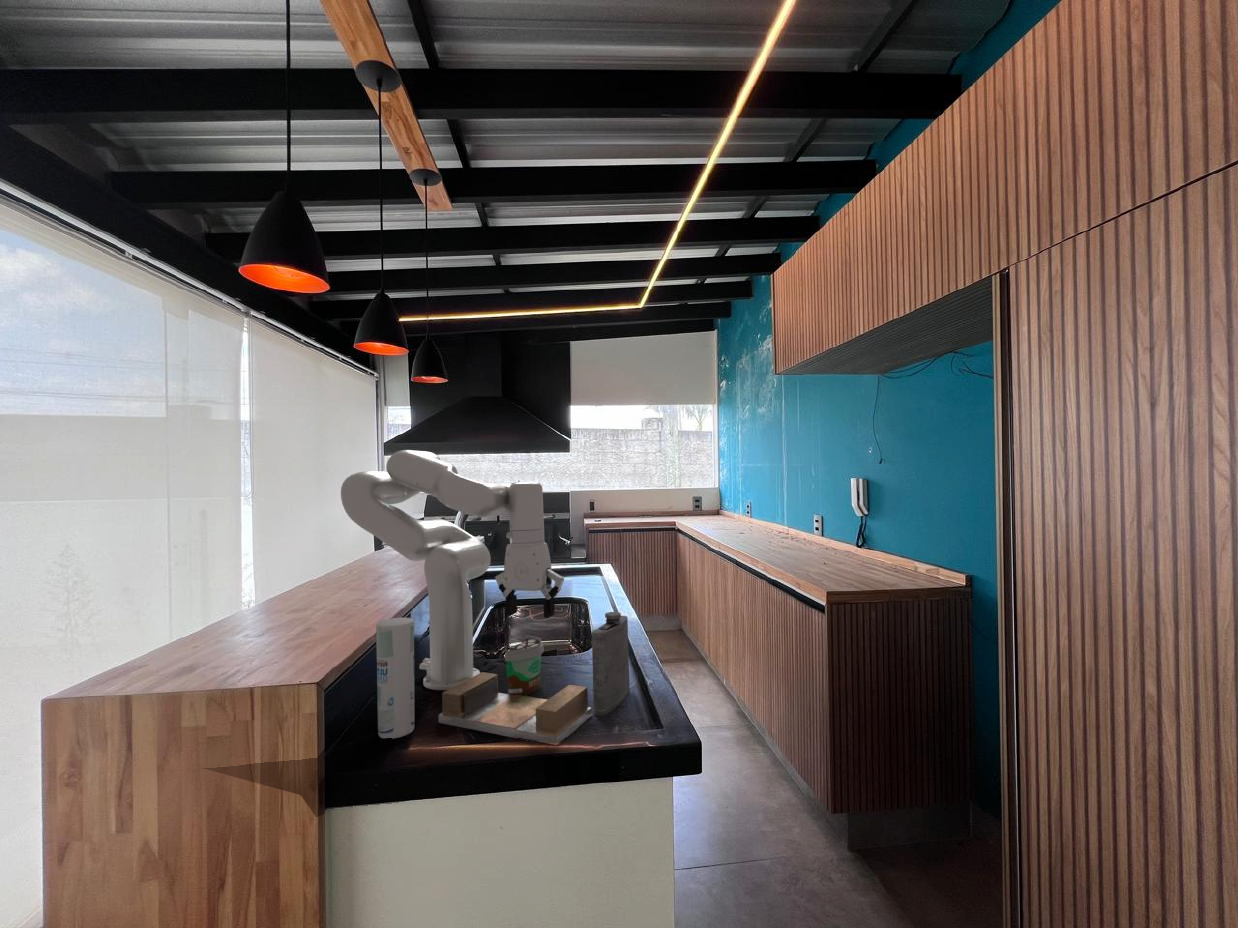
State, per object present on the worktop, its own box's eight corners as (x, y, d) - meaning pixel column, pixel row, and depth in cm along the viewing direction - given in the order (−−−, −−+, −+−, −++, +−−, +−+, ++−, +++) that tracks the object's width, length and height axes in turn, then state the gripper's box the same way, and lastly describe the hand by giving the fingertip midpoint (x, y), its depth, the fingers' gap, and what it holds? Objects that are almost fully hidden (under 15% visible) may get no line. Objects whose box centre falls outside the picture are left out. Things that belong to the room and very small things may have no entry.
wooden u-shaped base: (438, 722, 103) (438, 693, 103) (482, 697, 114) (481, 670, 115) (556, 746, 92) (556, 713, 92) (591, 715, 104) (590, 686, 104)
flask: (634, 689, 116) (632, 605, 117) (608, 716, 103) (606, 622, 104) (619, 687, 118) (616, 604, 118) (591, 714, 104) (588, 620, 105)
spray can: (421, 730, 100) (419, 621, 100) (385, 742, 95) (384, 628, 96) (406, 719, 104) (405, 615, 105) (371, 731, 100) (370, 622, 100)
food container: (533, 700, 112) (532, 652, 112) (505, 699, 113) (504, 651, 113) (552, 679, 124) (551, 635, 124) (527, 678, 125) (526, 634, 125)
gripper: (485, 539, 120) (487, 617, 119) (552, 539, 113) (555, 621, 112) (505, 535, 127) (507, 609, 126) (569, 535, 120) (572, 613, 119)
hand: (530, 615), depth 119 cm, fingers open, 9 cm apart
